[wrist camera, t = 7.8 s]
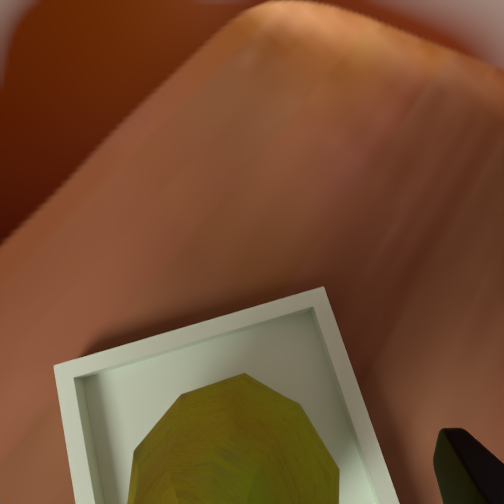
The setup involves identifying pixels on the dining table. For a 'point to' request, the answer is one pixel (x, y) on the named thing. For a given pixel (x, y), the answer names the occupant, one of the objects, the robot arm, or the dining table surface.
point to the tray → (211, 371)
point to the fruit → (233, 451)
